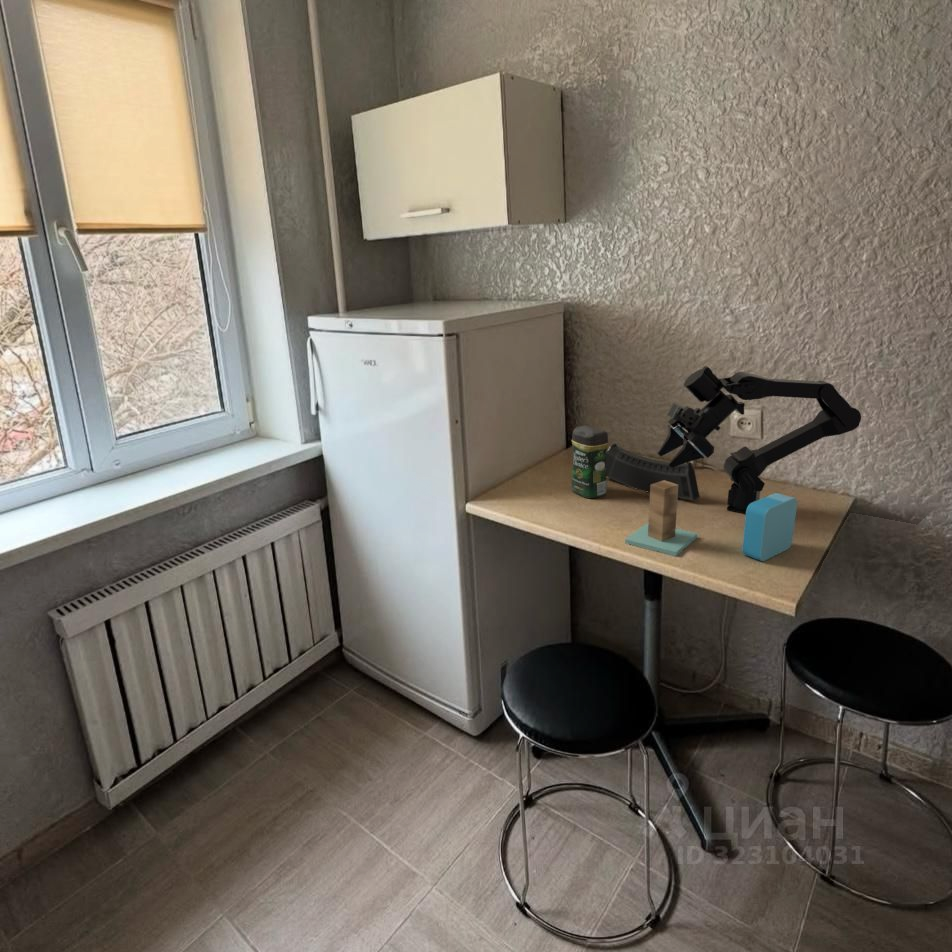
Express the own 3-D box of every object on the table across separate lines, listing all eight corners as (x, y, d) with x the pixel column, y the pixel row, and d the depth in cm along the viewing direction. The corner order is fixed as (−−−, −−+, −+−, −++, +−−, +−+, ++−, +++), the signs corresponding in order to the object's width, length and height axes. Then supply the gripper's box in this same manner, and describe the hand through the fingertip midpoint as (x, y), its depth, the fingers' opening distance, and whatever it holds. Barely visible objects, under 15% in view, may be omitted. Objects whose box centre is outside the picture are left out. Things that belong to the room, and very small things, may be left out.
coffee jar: (566, 491, 182) (566, 426, 176) (588, 485, 186) (589, 421, 180) (589, 501, 175) (590, 433, 169) (611, 495, 178) (613, 428, 172)
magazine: (710, 471, 167) (618, 420, 184) (704, 474, 165) (611, 422, 182) (688, 525, 176) (602, 471, 193) (682, 528, 174) (595, 474, 191)
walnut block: (661, 531, 152) (664, 480, 148) (675, 536, 149) (678, 484, 145) (647, 536, 150) (650, 484, 146) (661, 541, 147) (664, 489, 143)
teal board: (697, 537, 150) (697, 533, 150) (675, 556, 142) (676, 552, 141) (648, 525, 158) (648, 522, 157) (625, 543, 149) (625, 539, 149)
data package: (772, 541, 147) (778, 491, 143) (792, 547, 144) (798, 496, 140) (740, 556, 141) (746, 504, 137) (760, 563, 137) (766, 510, 133)
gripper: (678, 384, 165) (632, 429, 168) (704, 400, 147) (652, 450, 151) (707, 414, 167) (661, 457, 171) (736, 433, 150) (684, 480, 153)
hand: (664, 460), depth 161 cm, fingers open, 9 cm apart
